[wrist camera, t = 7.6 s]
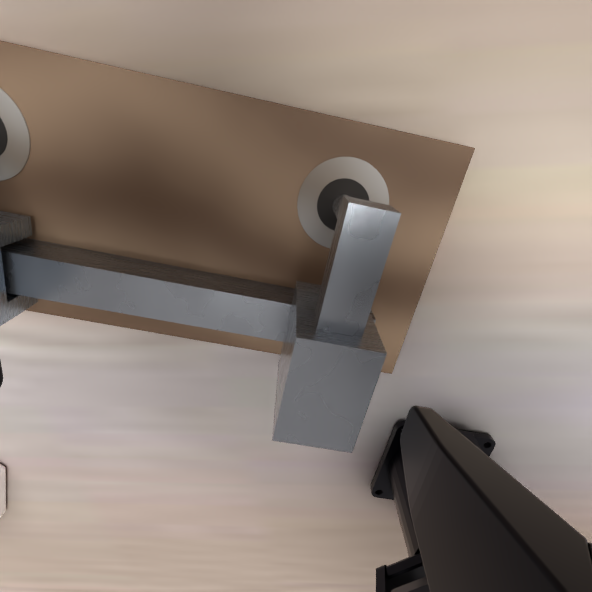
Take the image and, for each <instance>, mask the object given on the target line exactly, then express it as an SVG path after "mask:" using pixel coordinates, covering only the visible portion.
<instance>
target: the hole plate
mask: <svg viewBox="0 0 592 592" xmlns="http://www.w3.org/2000/svg"><path fill="white" fill-rule="evenodd" d="M474 150H475V148H472V147H467V146H463V145H459V144H454V143H450V142H445V141H441V140H437V139H432V138H428V137H423V136H419V135H415V134H410V133H406V132H401V131H397V130H392V129H388V128H384V127H379V126H375V125H370V124H366V123H362V122H357V121H353V120H348V119H344V118H339V117H335V116H331V115H326V114H322V113H317V112H313V111H309V110H304V109H300V108H295V107H291V106H286V105H282V104H278V103H273V102H269V101H264V100H260V99H256V98H251V97H247V96H242V95H238V94H234V93H229V92H225V91H220V90H216V89H211V88H207V87H203V86H198V85H194V84H189V83H185V82H181V81H176V80H172V79H167V78H163V77H158V76H154V75H150V74H145V73H141V72H136V71H132V70H128V69H123V68H119V67H114V66H110V65H106V64H101V63H97V62H92V61H88V60H83V59H79V58H75V57H70V56H66V55H61V54H57V53H53V52H48V51H44V50H39V49H35V48H30V47H26V46H22V45H17V44H13V43H8V42H4V41H0V211H5V212H10V213H15V214H20V215H25V216H30V217H31V227H32V236H29V237H27V238H30V239H35V240H40V241H46V242H51V243H56V244H62V245H67V246H72V247H78V248H83V249H88V250H93V251H99V252H104V253H109V254H115V255H120V256H125V257H131V258H136V259H141V260H147V261H152V262H157V263H162V264H168V265H173V266H178V267H184V268H189V269H194V270H200V271H205V272H210V273H216V274H221V275H226V276H231V277H237V278H242V279H247V280H253V281H258V282H263V283H269V284H274V285H279V286H285V287H290V288H295V286H296V281H302V282H307V283H312V284H318V285H321V284H322V280H323V276H324V272H325V268H326V264H327V260H328V256H329V251H330V247H331V243H332V239H333V235H334V231H335V227H336V223H337V218H336V215H335V213H334V211H333V208H332V205H333V201H334V200H335V198H336V197H338V196H340V195H348V196H350V197H353V198H358V199H363V200H368V201H372V202H377V203H382V204H387V205H391V206H392V207H393V208H395V209H396V210H397V211H399V212H400V213H401V216H400V219H399V222H398V225H397V228H396V232H395V235H394V238H393V241H392V244H391V247H390V251H389V254H388V257H387V260H386V263H385V267H384V270H383V273H382V276H381V279H380V282H379V286H378V289H377V292H376V295H375V298H374V301H373V305H372V308H371V310H372V312H373V314H374V317H375V319H376V322H375V326H376V328H377V330H378V333H379V335H380V338H381V340H382V343H383V345H384V347H385V350H386V352H387V355H386V358H385V361H384V364H383V366H382V369H381V372H384V373H390V374H392V372H393V369H394V366H395V363H396V361H397V358H398V355H399V353H400V350H401V347H402V344H403V342H404V339H405V336H406V334H407V331H408V328H409V326H410V323H411V320H412V317H413V315H414V312H415V309H416V307H417V304H418V301H419V298H420V296H421V293H422V290H423V288H424V285H425V282H426V280H427V277H428V274H429V271H430V269H431V266H432V263H433V261H434V258H435V255H436V252H437V250H438V247H439V244H440V242H441V239H442V236H443V234H444V231H445V228H446V225H447V223H448V220H449V217H450V215H451V212H452V209H453V206H454V204H455V201H456V198H457V196H458V193H459V190H460V188H461V185H462V182H463V179H464V177H465V174H466V171H467V169H468V166H469V163H470V160H471V158H472V155H473V152H474ZM26 310H28V311H34V312H39V313H45V314H51V315H57V316H62V317H68V318H74V319H80V320H85V321H91V322H97V323H103V324H108V325H114V326H120V327H126V328H131V329H137V330H143V331H149V332H154V333H160V334H166V335H172V336H177V337H183V338H189V339H195V340H200V341H206V342H212V343H218V344H223V345H229V346H235V347H241V348H246V349H252V350H258V351H264V352H269V353H275V354H281V350H282V345H283V342H281V341H276V340H270V339H264V338H259V337H253V336H247V335H242V334H236V333H230V332H225V331H219V330H213V329H208V328H202V327H196V326H191V325H185V324H179V323H174V322H168V321H163V320H157V319H151V318H146V317H140V316H134V315H129V314H123V313H117V312H112V311H106V310H100V309H95V308H89V307H83V306H78V305H72V304H66V303H61V302H55V301H49V300H44V299H38V302H37V303H36V304H34V305H32V306H31V307H29V308H28V309H26Z"/></svg>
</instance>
